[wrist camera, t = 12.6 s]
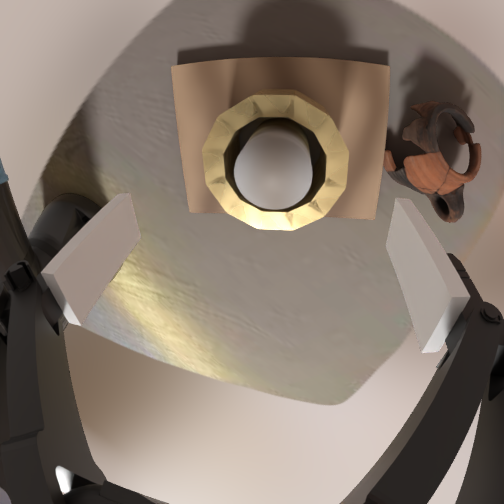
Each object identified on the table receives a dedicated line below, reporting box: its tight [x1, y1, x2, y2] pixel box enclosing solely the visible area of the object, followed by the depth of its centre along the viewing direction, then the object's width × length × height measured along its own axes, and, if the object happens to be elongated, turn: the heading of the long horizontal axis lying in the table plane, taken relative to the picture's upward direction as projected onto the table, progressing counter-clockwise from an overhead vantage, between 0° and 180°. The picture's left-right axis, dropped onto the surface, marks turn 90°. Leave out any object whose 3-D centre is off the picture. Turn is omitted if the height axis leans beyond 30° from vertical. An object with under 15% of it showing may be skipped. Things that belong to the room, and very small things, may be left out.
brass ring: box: [202, 89, 349, 230], centre depth 22 cm, size 10×10×6 cm
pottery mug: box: [383, 101, 481, 223], centre depth 23 cm, size 12×10×8 cm
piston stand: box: [171, 57, 390, 220], centre depth 23 cm, size 20×16×11 cm
